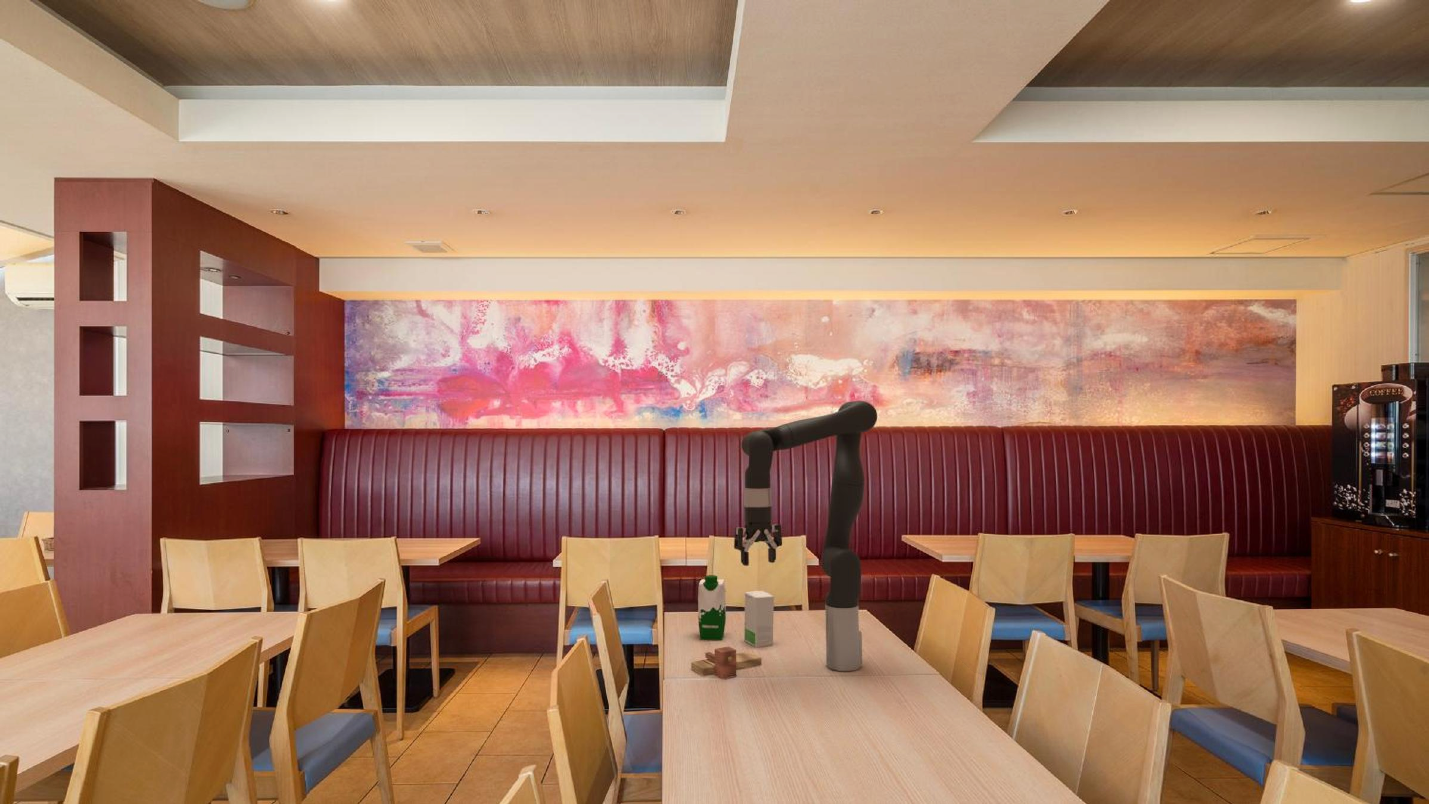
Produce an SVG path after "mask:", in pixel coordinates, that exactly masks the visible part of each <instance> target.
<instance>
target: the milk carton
mask: <svg viewBox="0 0 1429 804" xmlns="http://www.w3.org/2000/svg"><path fill="white" fill-rule="evenodd" d="M697 588H698V590H697V591H698V593H697V601H698V602H697V603H698V605H697V606H698V607H697V608H698V609H697V610H698V613H697V614H698V616H697V617H698V618H697V619H698V622H697V623H698V629H699V631H698V632H699V638H700V639H699V640H700V641H722V640H723V639H724V635H725V630H726V629H725V627H726V622H727V621H726V617H727V615H726V614H727V613H726V611H727V610H726V608H727V606H726V605H727V604H726V602H727V601H726V598H727V597H726V592H727V591H726V585H725V579H718V575H716V574H715V575H714V574H713V575H712V574H707V575H705V576H704V578H703V579H701V580H700V581H699V583H698V587H697Z"/></svg>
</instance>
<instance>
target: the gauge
mask: <svg viewBox="0 0 1429 804" xmlns="http://www.w3.org/2000/svg"><path fill="white" fill-rule="evenodd" d="M704 654H705V655H704V656H705V657H704V658H705V659H709V660H711V661H713V662H715V674H714V676H716V677H718V678H719V679H722V680H723V679H724V680H725V679H729V678H734V677H737V670H736V654H737V649H735V648H733V647H730V646H728V645H727V646H723V647H717V648H714V653H713V652H710V651H707V652H704Z"/></svg>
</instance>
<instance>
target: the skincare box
mask: <svg viewBox="0 0 1429 804" xmlns="http://www.w3.org/2000/svg"><path fill="white" fill-rule="evenodd" d="M774 606H775V597H774V595H772V594H770V593H769V592H767V591H764V590H753V591H745V592H744V625H743V626H744V629H743V630H744V631H743V633H744V637H743V640H744V642H745V643H747V644H748V645H750V646H752V647H754V648H755V649H756V648H761V647H769V646H770V647H771V646H773V645H774V614H775V612H774V611H775V610H774Z"/></svg>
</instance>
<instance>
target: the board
mask: <svg viewBox="0 0 1429 804" xmlns="http://www.w3.org/2000/svg"><path fill="white" fill-rule="evenodd" d="M762 663H763V662H762V657H761V656H759V655H757V654H754V653H753V652H750V651H745V652H739V653H736V671H738V670H742V669H748V668H752V667H757V666H761V665H762ZM690 670H692V672H696V673H697V674H699V675H700V676H702V677H706V676H711V675H715V662H713V661H711V660H709V659H707V658H705V659H700V660H696V661H694V660H693V661H691V662H690Z"/></svg>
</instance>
